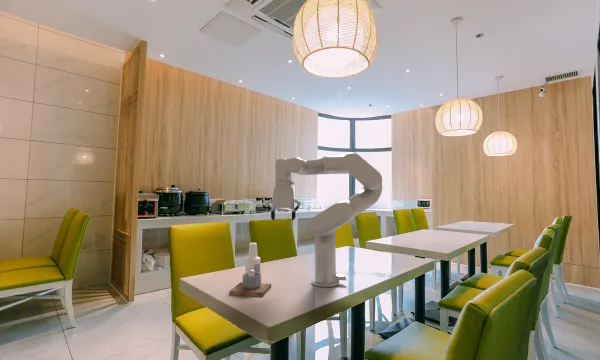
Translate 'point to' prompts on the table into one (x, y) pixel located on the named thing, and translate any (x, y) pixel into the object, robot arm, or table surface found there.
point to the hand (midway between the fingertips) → (283, 220)
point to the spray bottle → (252, 259)
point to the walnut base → (257, 292)
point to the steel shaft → (251, 272)
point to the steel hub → (251, 281)
